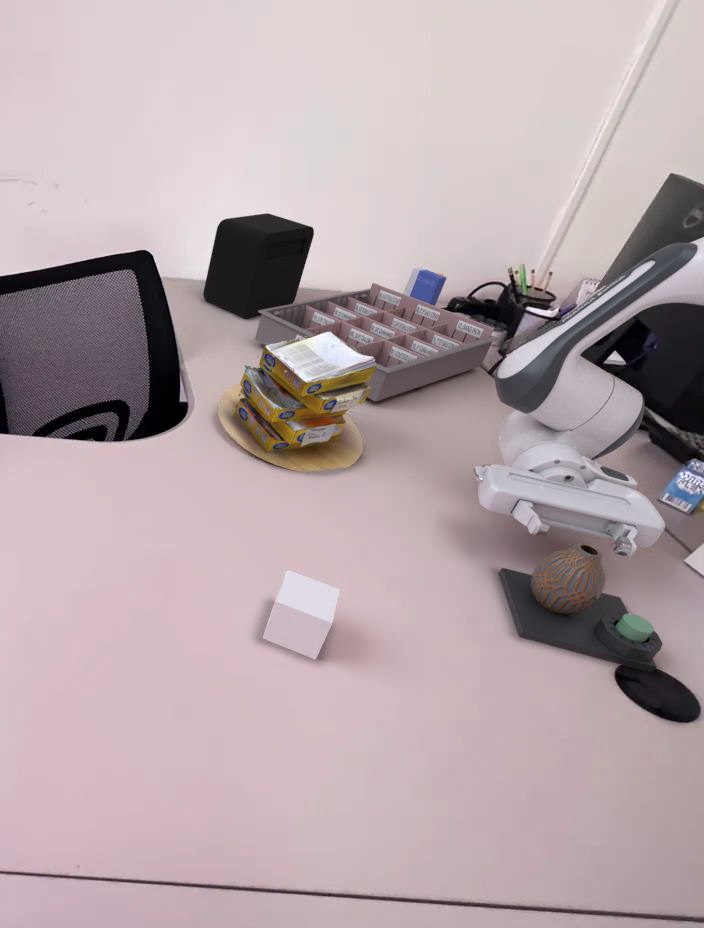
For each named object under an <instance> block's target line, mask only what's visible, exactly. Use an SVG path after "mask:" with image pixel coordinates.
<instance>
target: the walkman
mask: <svg viewBox="0 0 704 928" xmlns="http://www.w3.org/2000/svg"><path fill="white" fill-rule="evenodd" d="M447 279H448V277H447V276H444V274H443V273H440V272H439V273H437V272H433V271H431V270H429V269H426V268H423V267H413V268H412V271H411V272H410V276H409V278H408V281H407V283H406V285H405V287H404V291H403V293H402V294H404V295H407V296H410V297H412V298H415V299H418V300H420V301H423V302H426V303H428V304H431V305H434V306H436V305H437V302H438V300H439V298H440V295H441V293H442V291H443V290H442V289H443V288H444V286H445V283H446V280H447Z"/></svg>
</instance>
